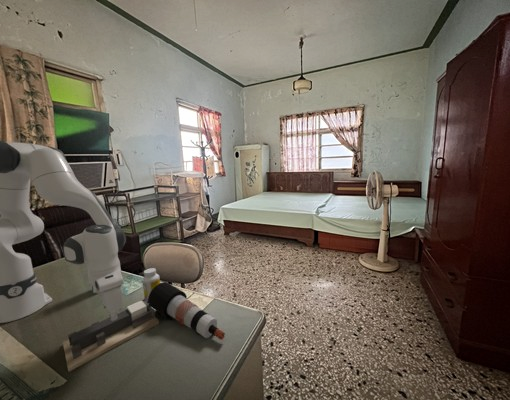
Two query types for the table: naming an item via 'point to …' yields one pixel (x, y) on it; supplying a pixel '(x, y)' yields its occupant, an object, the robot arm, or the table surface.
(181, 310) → the cable
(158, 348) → the table surface
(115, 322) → the bar
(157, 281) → the supplement bottle
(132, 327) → the clip board
